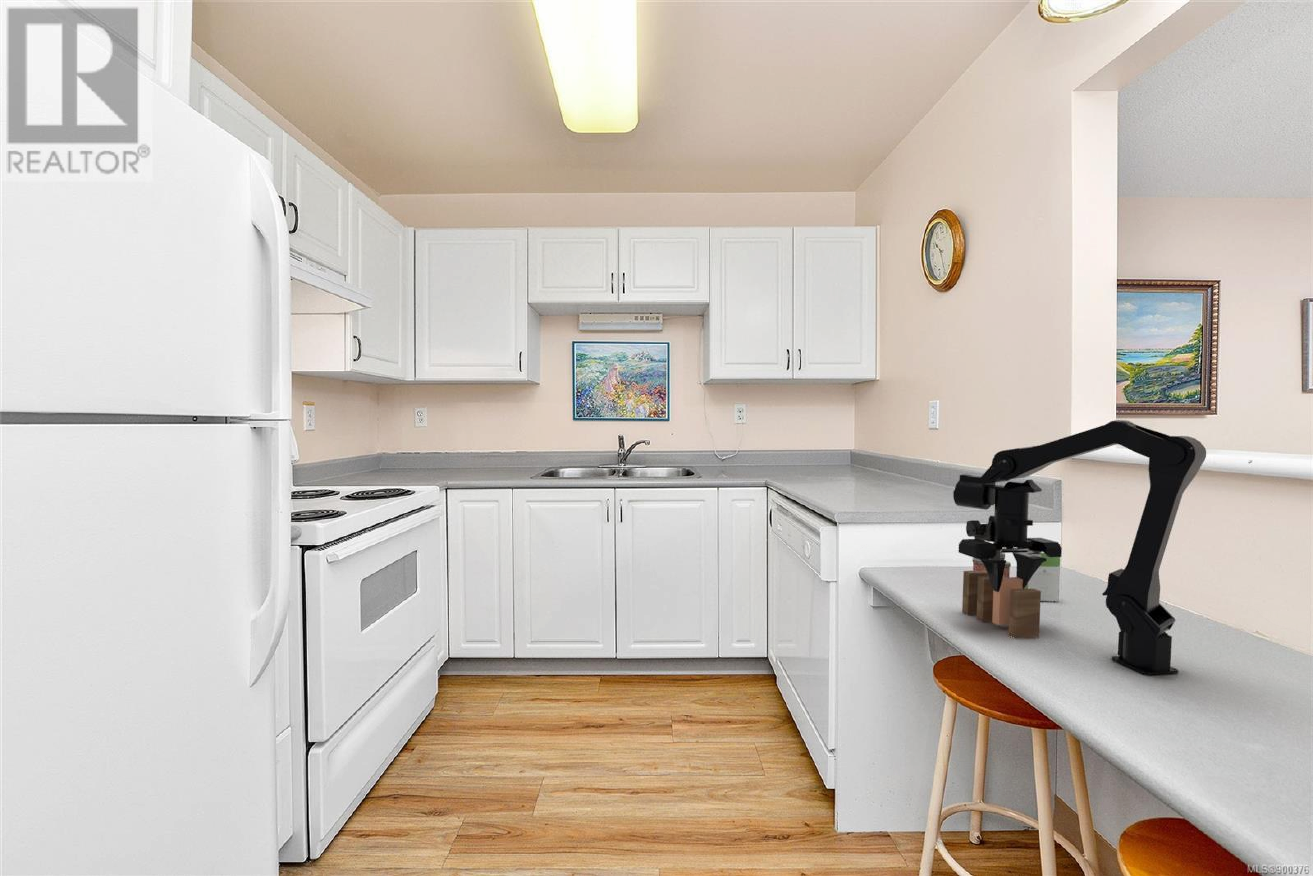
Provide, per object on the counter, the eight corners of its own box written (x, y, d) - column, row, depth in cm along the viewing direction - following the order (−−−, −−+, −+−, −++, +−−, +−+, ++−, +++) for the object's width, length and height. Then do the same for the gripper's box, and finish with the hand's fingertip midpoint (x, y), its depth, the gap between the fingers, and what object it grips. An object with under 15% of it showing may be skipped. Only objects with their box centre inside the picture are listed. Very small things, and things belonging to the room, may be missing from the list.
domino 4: (1039, 637, 114) (1040, 591, 113) (1015, 639, 113) (1017, 592, 112) (1031, 634, 115) (1033, 588, 115) (1008, 635, 115) (1010, 589, 114)
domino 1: (988, 614, 127) (990, 572, 127) (967, 615, 126) (969, 573, 126) (983, 611, 129) (984, 570, 128) (962, 612, 128) (963, 571, 128)
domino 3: (992, 622, 119) (993, 577, 119) (1014, 621, 120) (1016, 577, 119) (998, 625, 117) (1000, 580, 117) (1021, 624, 118) (1023, 579, 118)
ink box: (1049, 597, 140) (1052, 540, 139) (1059, 602, 136) (1061, 544, 135) (1018, 596, 141) (1020, 539, 140) (1027, 601, 137) (1029, 543, 136)
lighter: (1009, 592, 143) (1011, 551, 143) (1009, 595, 140) (1011, 554, 140) (972, 586, 148) (973, 546, 147) (970, 590, 145) (972, 549, 144)
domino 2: (1004, 621, 122) (1006, 578, 122) (982, 622, 122) (984, 579, 121) (998, 618, 124) (999, 576, 124) (976, 619, 123) (978, 576, 123)
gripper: (1021, 506, 127) (1019, 578, 128) (942, 507, 124) (939, 581, 125) (1065, 515, 116) (1062, 594, 117) (979, 516, 113) (976, 597, 114)
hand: (1008, 591), depth 118 cm, fingers closed on domino 3, 5 cm apart
